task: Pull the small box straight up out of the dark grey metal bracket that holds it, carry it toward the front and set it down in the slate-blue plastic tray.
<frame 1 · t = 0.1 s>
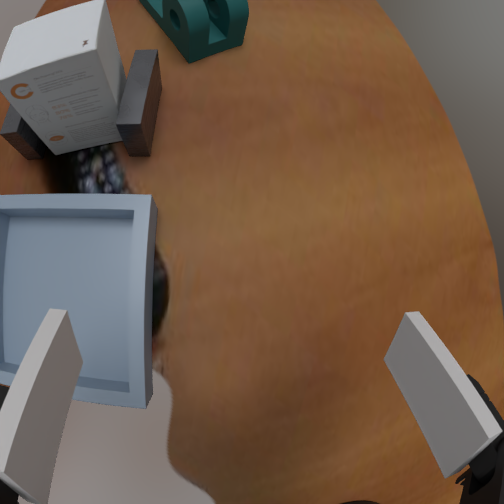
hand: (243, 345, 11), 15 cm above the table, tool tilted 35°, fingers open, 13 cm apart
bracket: (91, 120, 27), on the table
tray: (66, 296, 25), on the table
bracket 2: (181, 15, 31), on the table
small box: (92, 122, 27), on the table
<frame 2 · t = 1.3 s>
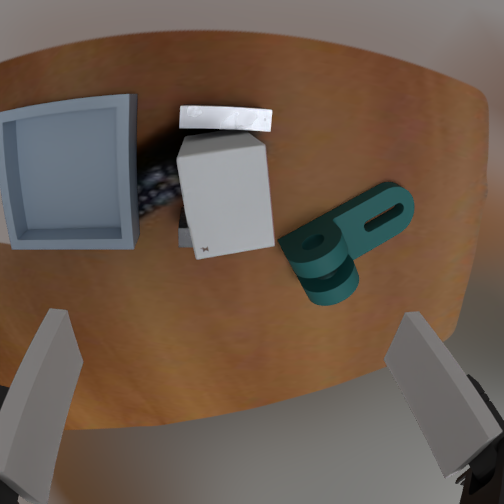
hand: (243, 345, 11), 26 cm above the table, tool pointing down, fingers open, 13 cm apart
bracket: (218, 166, 34), on the table
tray: (70, 169, 31), on the table
bracket 2: (348, 225, 40), on the table
small box: (218, 166, 34), on the table
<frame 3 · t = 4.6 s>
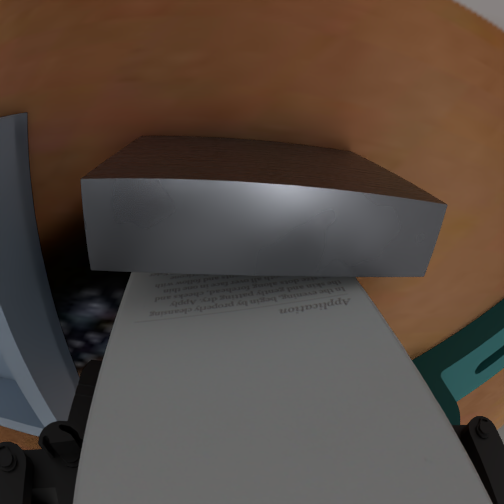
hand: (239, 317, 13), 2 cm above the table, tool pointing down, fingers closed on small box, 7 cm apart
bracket: (236, 294, 14), on the table
bracket 2: (448, 358, 20), on the table
small box: (236, 292, 15), on the table, touching gripper
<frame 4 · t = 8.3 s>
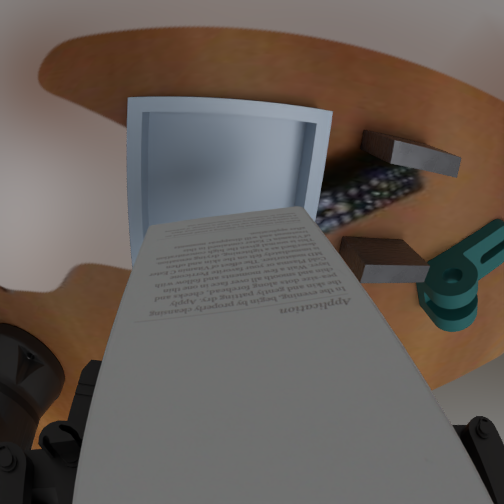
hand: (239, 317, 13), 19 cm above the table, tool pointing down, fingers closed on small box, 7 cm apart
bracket: (384, 198, 32), on the table
tray: (222, 184, 29), on the table
bracket 2: (464, 256, 38), on the table
small box: (236, 292, 14), point 17 cm above the table, touching gripper
when the fingers open (4 cm above the table, at t = 11.9 s): small box drops 1 cm, resting on tray.
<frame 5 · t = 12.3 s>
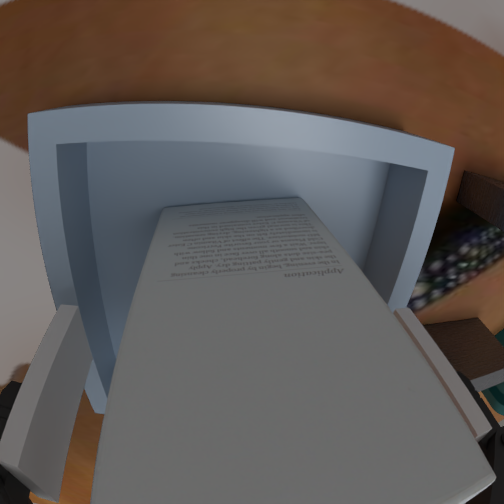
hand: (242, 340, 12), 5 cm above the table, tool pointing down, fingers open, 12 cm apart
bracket: (471, 269, 19), on the table
tray: (232, 266, 16), on the table
small box: (238, 274, 16), point 1 cm above the table, touching tray
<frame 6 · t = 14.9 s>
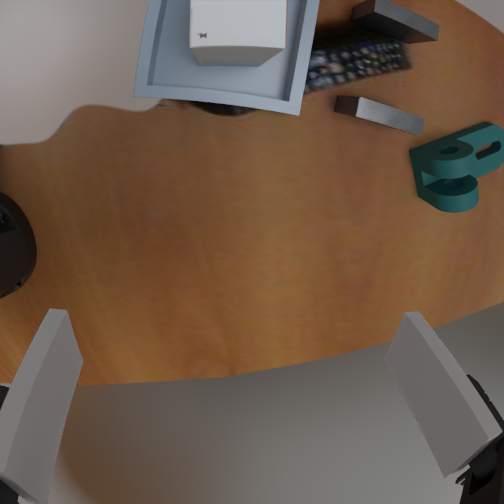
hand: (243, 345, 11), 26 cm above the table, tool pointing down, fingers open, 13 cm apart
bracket: (375, 67, 30), on the table
tray: (227, 32, 27), on the table
bracket 2: (459, 153, 37), on the table
small box: (230, 31, 27), point 1 cm above the table, touching tray
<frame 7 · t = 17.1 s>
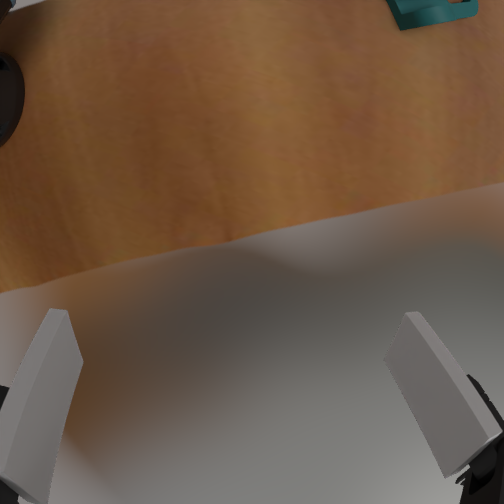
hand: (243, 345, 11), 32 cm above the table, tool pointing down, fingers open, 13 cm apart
bracket 2: (432, 2, 30), on the table
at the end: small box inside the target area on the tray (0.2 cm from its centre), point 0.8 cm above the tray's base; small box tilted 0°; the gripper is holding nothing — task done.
